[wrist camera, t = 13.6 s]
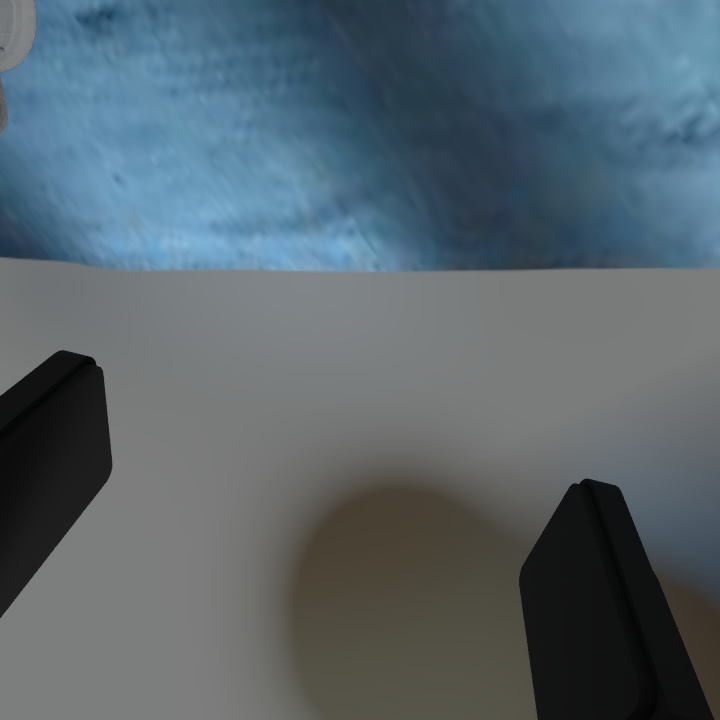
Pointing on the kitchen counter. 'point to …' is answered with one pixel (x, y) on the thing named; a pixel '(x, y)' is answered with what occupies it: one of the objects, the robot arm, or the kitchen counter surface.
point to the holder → (14, 40)
